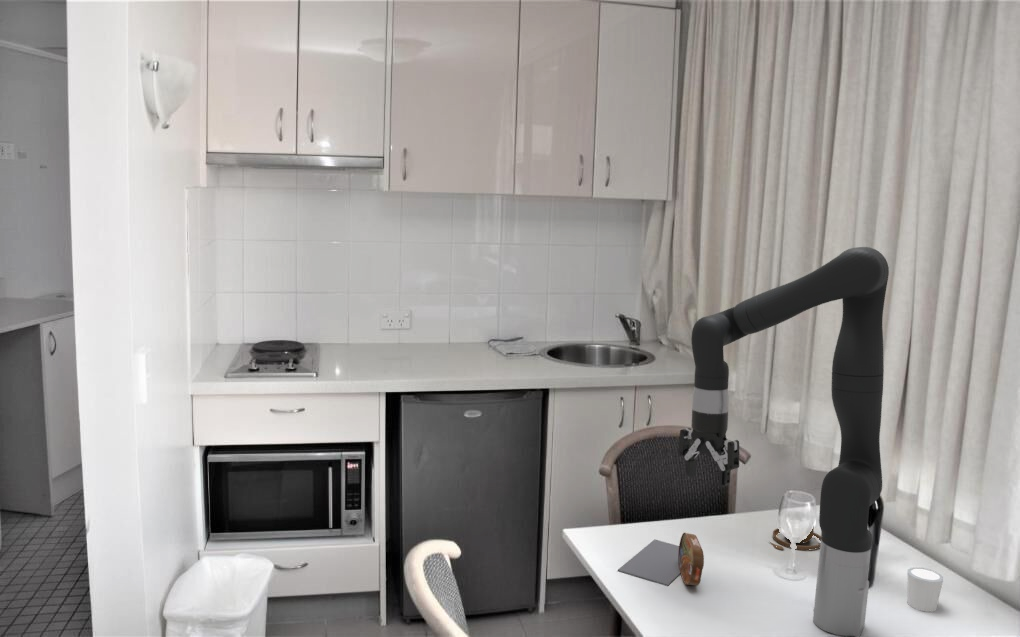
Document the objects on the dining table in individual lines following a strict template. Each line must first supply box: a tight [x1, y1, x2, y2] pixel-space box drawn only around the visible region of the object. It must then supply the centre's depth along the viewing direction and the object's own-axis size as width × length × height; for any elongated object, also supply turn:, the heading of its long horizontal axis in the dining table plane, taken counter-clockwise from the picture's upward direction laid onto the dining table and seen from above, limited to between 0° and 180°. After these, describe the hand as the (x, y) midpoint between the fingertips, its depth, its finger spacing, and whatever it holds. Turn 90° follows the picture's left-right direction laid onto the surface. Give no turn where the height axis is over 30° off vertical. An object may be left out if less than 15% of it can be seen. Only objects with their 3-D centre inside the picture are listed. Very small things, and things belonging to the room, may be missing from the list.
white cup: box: [906, 566, 944, 613], centre depth 176 cm, size 7×7×7 cm
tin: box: [678, 532, 705, 586], centre depth 184 cm, size 15×3×8 cm, turn 178°
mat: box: [617, 539, 681, 587], centre depth 192 cm, size 12×21×1 cm, turn 147°
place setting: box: [769, 526, 821, 551], centre depth 203 cm, size 18×20×6 cm
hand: (706, 481), depth 179 cm, fingers open, 8 cm apart
